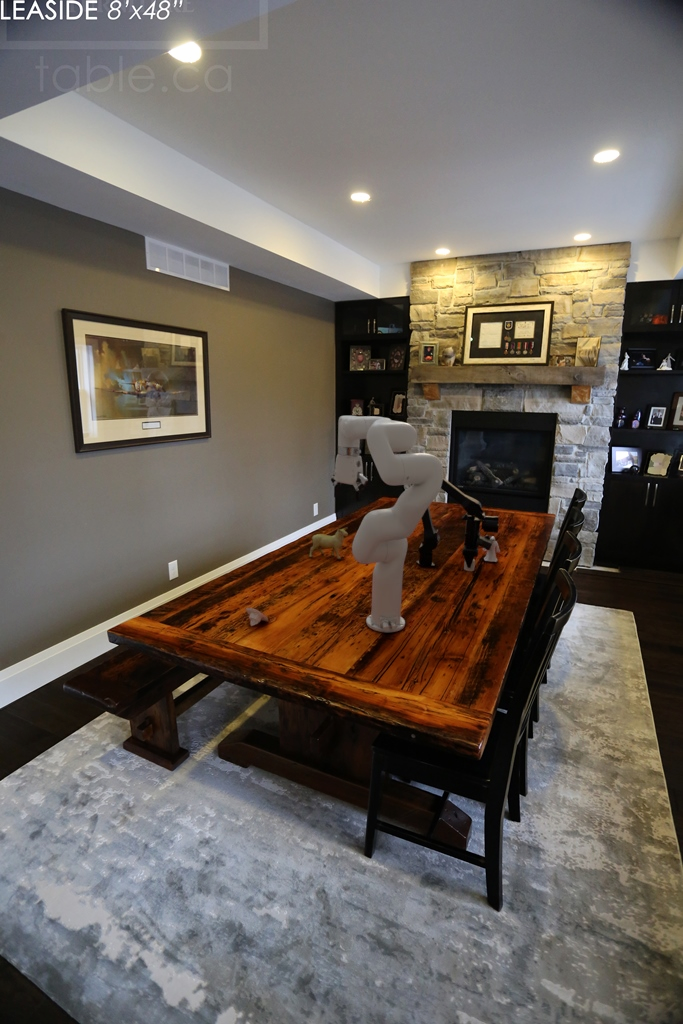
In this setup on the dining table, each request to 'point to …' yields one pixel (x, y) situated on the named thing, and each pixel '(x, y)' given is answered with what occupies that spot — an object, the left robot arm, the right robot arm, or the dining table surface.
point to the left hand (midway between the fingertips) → (347, 499)
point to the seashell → (255, 616)
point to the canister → (470, 567)
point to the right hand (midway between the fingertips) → (469, 565)
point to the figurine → (492, 551)
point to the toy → (329, 542)
